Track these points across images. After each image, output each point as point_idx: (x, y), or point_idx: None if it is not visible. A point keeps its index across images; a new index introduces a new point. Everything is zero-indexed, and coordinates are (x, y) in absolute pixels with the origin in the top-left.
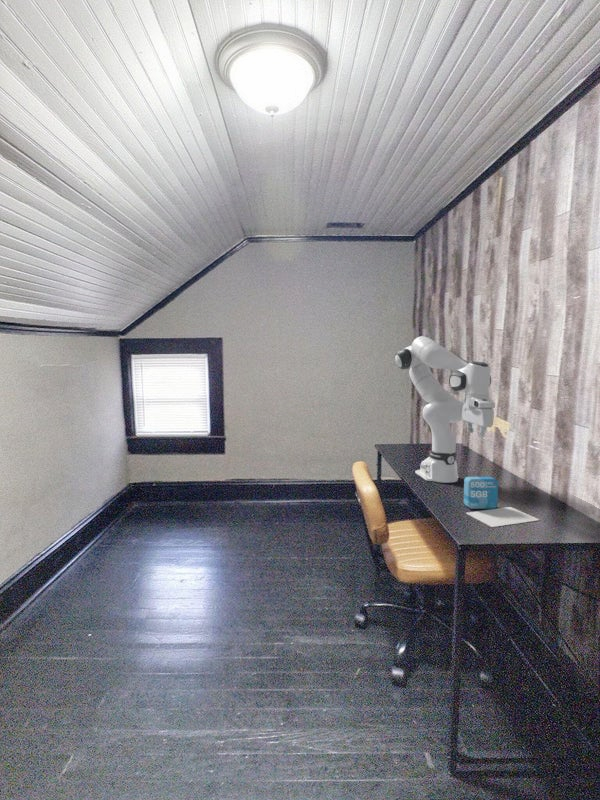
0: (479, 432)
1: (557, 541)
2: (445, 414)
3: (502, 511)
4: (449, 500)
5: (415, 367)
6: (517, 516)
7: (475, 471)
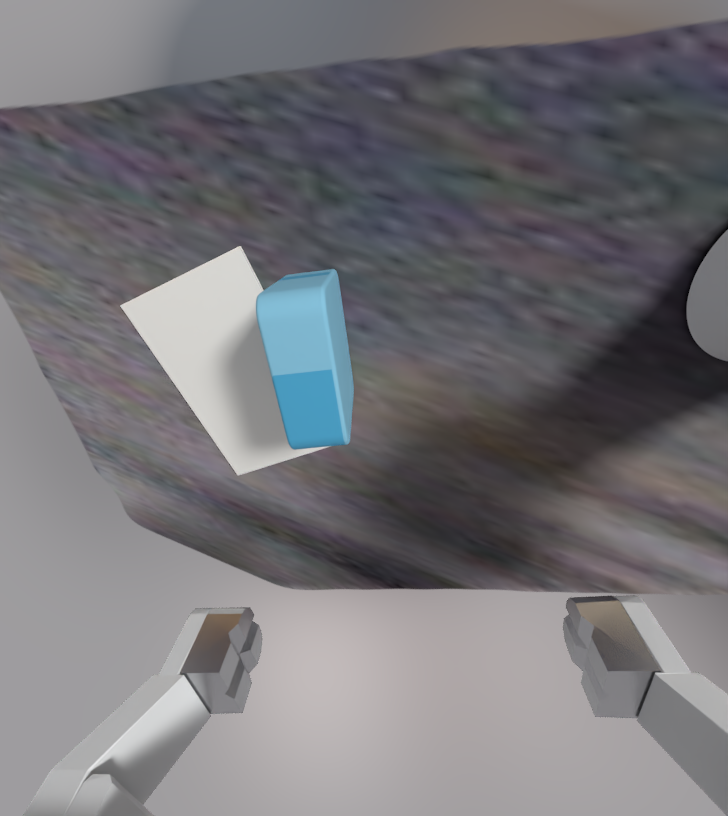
0: (183, 672)
1: (93, 449)
2: None
3: None
4: (406, 216)
5: None
6: (249, 426)
7: None
